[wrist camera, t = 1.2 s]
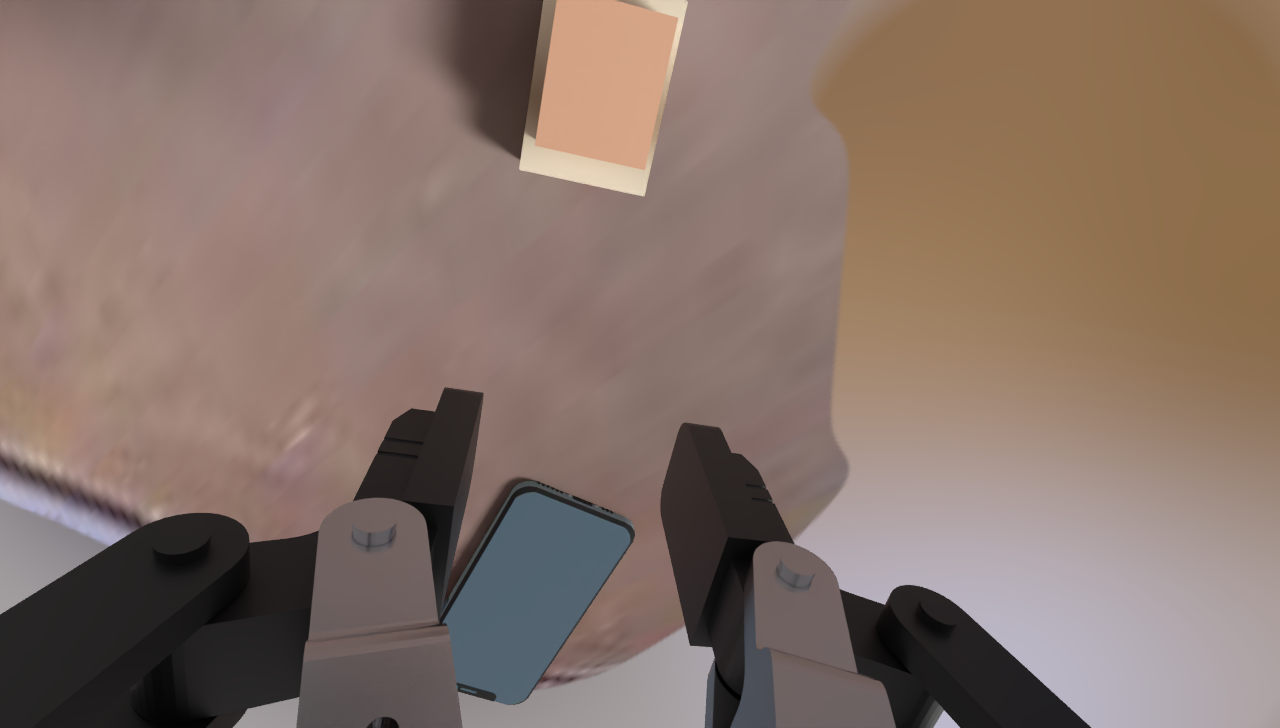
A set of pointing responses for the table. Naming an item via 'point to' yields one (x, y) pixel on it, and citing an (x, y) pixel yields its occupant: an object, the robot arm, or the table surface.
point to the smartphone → (529, 588)
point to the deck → (574, 165)
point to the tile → (604, 80)
